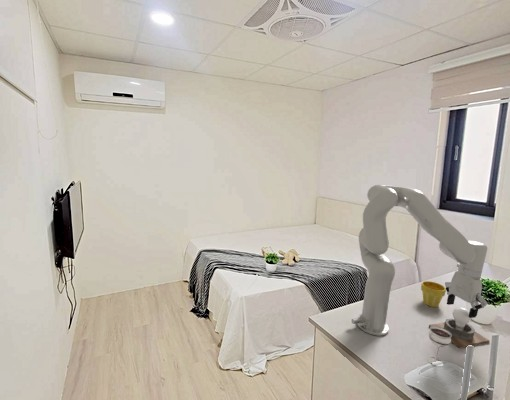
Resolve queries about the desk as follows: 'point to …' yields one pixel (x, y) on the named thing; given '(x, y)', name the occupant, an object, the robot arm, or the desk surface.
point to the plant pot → (432, 293)
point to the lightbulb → (461, 317)
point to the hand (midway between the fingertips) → (460, 310)
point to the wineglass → (439, 339)
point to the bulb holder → (462, 334)
